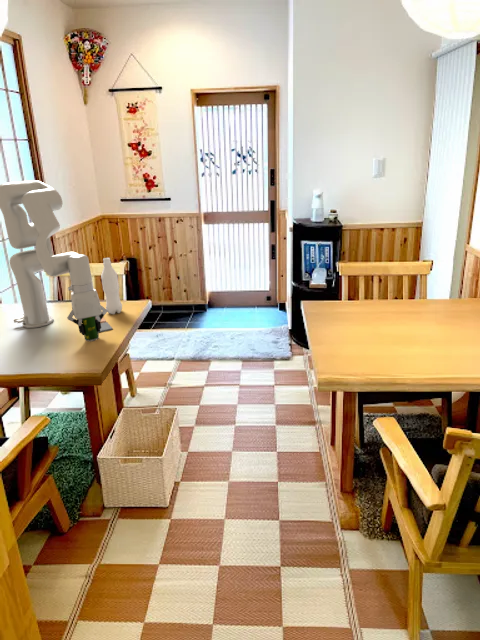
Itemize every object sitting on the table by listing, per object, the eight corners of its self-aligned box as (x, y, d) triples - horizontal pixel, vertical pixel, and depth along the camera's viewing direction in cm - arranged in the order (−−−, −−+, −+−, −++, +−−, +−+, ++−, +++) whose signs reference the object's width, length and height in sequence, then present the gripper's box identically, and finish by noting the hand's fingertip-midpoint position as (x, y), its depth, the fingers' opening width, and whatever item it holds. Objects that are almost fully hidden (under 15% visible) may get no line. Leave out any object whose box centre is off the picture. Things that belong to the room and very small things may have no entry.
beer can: (94, 335, 185) (89, 307, 181) (101, 338, 182) (96, 309, 178) (82, 339, 181) (76, 310, 177) (89, 342, 178) (84, 313, 174)
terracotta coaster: (84, 326, 196) (84, 325, 195) (80, 320, 203) (80, 319, 203) (106, 321, 200) (106, 320, 199) (101, 316, 207) (101, 315, 207)
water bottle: (125, 309, 214) (117, 256, 205) (119, 315, 207) (111, 260, 199) (110, 310, 215) (101, 257, 206) (104, 315, 208) (95, 260, 200)
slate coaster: (90, 334, 187) (90, 333, 186) (85, 327, 194) (85, 326, 194) (112, 329, 190) (112, 328, 190) (107, 323, 198) (107, 321, 198)
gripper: (60, 294, 168) (69, 340, 174) (108, 285, 175) (115, 330, 181) (57, 289, 174) (66, 334, 180) (103, 281, 181) (110, 324, 188)
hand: (90, 331), depth 181 cm, fingers closed on beer can, 5 cm apart
